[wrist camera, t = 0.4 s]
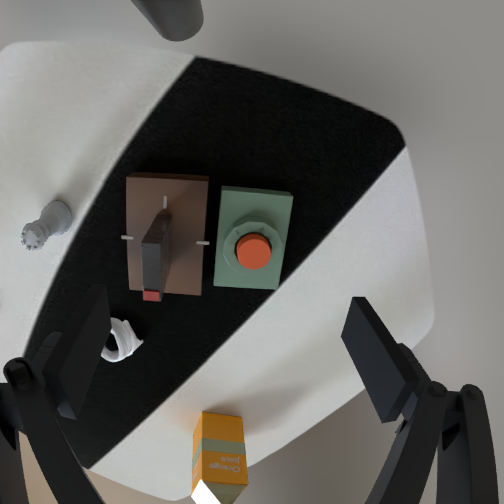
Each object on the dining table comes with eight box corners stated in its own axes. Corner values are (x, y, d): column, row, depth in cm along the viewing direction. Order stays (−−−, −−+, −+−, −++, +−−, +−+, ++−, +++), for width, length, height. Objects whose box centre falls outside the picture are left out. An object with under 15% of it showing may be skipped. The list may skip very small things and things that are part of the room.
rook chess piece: (68, 196, 35) (38, 217, 28) (77, 229, 37) (50, 256, 30) (41, 203, 35) (9, 224, 28) (50, 234, 37) (21, 260, 30)
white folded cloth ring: (117, 353, 47) (111, 377, 43) (86, 328, 44) (77, 351, 40) (151, 335, 45) (146, 360, 41) (118, 307, 42) (110, 331, 38)
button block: (221, 185, 37) (221, 193, 33) (289, 191, 38) (296, 201, 34) (213, 277, 42) (213, 293, 38) (275, 281, 43) (280, 297, 39)
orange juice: (242, 417, 54) (252, 512, 36) (230, 440, 58) (236, 526, 40) (201, 411, 53) (200, 509, 35) (192, 435, 56) (190, 523, 38)
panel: (128, 171, 35) (120, 176, 32) (214, 176, 36) (214, 182, 34) (130, 277, 41) (124, 289, 38) (206, 283, 42) (205, 296, 39)
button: (238, 231, 36) (239, 237, 34) (270, 234, 36) (273, 240, 34) (235, 261, 37) (235, 268, 35) (266, 263, 38) (268, 270, 36)
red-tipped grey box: (157, 214, 34) (140, 243, 27) (172, 215, 35) (160, 244, 27) (156, 263, 37) (142, 301, 29) (171, 264, 37) (160, 303, 30)
